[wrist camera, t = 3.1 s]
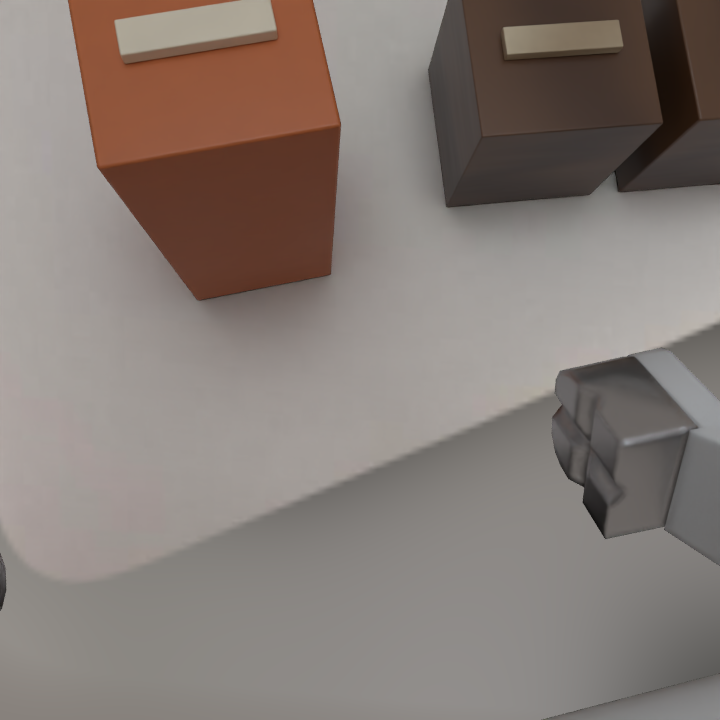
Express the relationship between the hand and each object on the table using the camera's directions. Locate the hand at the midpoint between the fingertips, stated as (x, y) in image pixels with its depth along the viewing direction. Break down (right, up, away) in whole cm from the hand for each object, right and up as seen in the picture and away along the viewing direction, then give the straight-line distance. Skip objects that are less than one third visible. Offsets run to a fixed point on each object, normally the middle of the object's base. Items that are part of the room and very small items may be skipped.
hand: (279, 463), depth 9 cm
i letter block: (-2, +6, +13) cm, 14 cm away
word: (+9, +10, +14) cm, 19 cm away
